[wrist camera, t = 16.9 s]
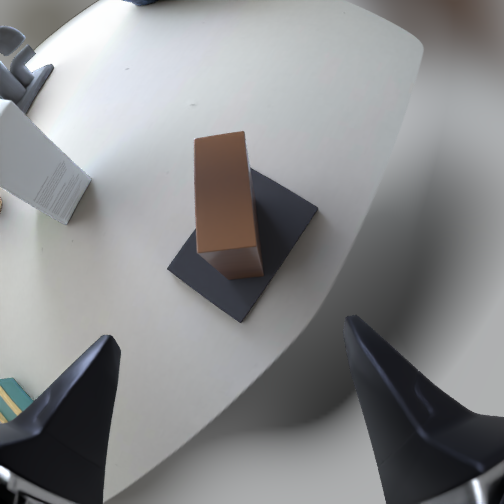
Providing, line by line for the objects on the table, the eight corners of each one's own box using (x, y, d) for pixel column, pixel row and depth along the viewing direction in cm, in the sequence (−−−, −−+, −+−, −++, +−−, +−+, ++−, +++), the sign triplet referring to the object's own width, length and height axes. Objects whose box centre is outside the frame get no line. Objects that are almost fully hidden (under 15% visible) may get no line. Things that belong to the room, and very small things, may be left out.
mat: (317, 209, 25) (318, 207, 25) (240, 322, 23) (240, 323, 23) (245, 166, 26) (244, 164, 26) (168, 269, 25) (166, 268, 24)
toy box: (55, 422, 22) (35, 430, 18) (50, 449, 21) (31, 458, 17) (12, 377, 23) (-8, 379, 19) (8, 405, 22) (-10, 409, 18)
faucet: (37, 128, 32) (-34, 58, 12) (-7, 144, 33) (-66, 95, 14) (80, 55, 36) (36, -13, 16) (31, 76, 37) (-12, 24, 18)
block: (263, 276, 24) (256, 246, 14) (228, 279, 24) (196, 253, 14) (255, 198, 25) (244, 130, 15) (222, 202, 25) (193, 138, 16)
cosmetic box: (35, 204, 28) (-49, 152, 13) (60, 160, 29) (-14, 95, 14) (68, 227, 27) (-35, 169, 12) (96, 176, 28) (10, 96, 13)
